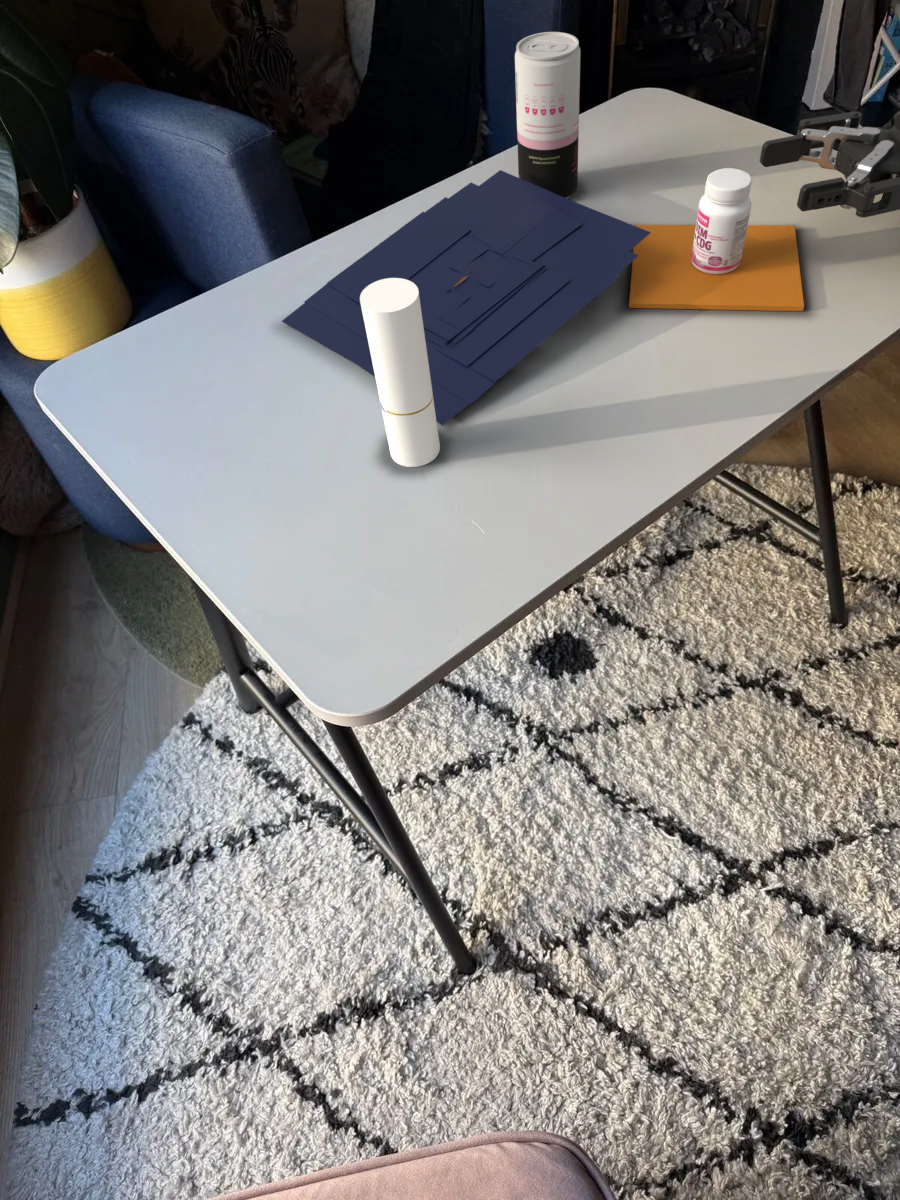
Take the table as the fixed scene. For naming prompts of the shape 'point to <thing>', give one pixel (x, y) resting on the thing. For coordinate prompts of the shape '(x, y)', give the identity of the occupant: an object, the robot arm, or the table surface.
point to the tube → (401, 369)
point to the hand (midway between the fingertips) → (780, 176)
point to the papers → (479, 282)
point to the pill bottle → (722, 221)
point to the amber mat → (753, 285)
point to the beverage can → (548, 110)
